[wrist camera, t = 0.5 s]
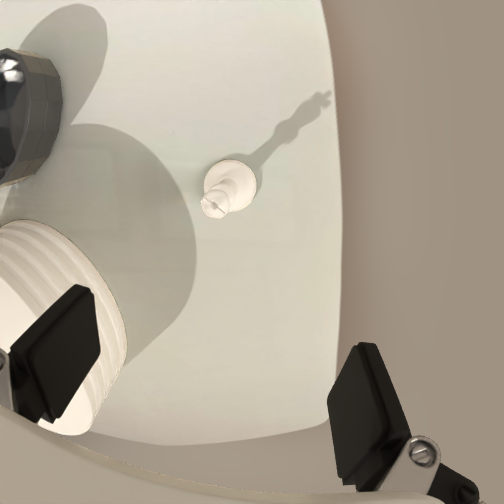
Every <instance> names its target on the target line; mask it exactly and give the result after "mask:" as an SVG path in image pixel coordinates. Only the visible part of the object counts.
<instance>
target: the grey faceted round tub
mask: <svg viewBox="0 0 504 504" xmlns="http://www.w3.org/2000/svg"><path fill="white" fill-rule="evenodd" d="M62 103H63V101H62V93H61V84H60V77H59V75H58V73H57V71H56V70H55V68H54V66H53V64H52V62H51V61H50V60H49V59H47V58H45V57H42V56H40V55H38V54H35V53H30V52H25V51H20V50H15V49H9V48H6V49H3V50H0V188H2V187H5V186H8V185H12V184H15V183H18V182H20V181H22V180H24V179H26V178H28V177H30V176H32V175H34V174H35V173H36V172H37V170H38V169H39V168H40V166H41V165H42V164H43V163H44V161H45V160H46V159H47V157H48V156H49V154H50V151H51V148H52V146H53V143H54V140H55V138H56V136H57V133H58V130H59V124H60V116H61V110H62Z"/></svg>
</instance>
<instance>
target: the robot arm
mask: <svg viewBox="0 0 504 504" xmlns="http://www.w3.org/2000/svg"><path fill="white" fill-rule="evenodd" d="M10 350H11V351H10V352H9V353H8V354H7V353H6V352H5V351H4V350H3V349H1V348H0V504H486V503H485V502H484V501H481V502H480V503H479V491H478V488H477V486H476V485H475V483H473V482H472V481H471V480H469V479H467V478H465V477H464V476H462V475H460V474H459V473H457V472H455V471H453V470H452V469H450V468H448V467H447V466H445V465H443V464H442V463H440V461H441V452H440V449H439V447H438V445H437V444H436V443H435V442H434V441H433V440H431V439H430V438H428V437H425V436H414V437H412V435H411V433H410V429H409V426H408V423H407V421H406V418H405V415H404V412H403V410H402V407H401V404H400V402H399V399H398V397H397V394H396V392H395V389H394V387H393V384H392V382H391V379H390V376H389V374H388V372H387V369H386V367H385V364H384V362H383V360H382V357H381V355H380V353H379V350H378V348H377V346H376V344H374V343H366V342H359V344H358V345H357V346H356V345H355V346H353V348H352V349H351V352H350V354H349V356H348V358H347V360H346V362H345V364H344V366H343V368H342V370H341V372H340V374H339V376H338V378H337V380H336V381H335V383H334V385H333V387H332V389H331V391H330V393H329V395H328V398H327V406H328V412H329V419H330V425H331V431H332V437H333V445H334V451H335V459H336V465H337V474H338V477H339V478H342V481H343V485H356V490H357V491H356V493H338V494H291V493H272V492H259V491H250V490H241V489H234V488H227V487H220V486H214V485H208V484H203V483H198V482H193V481H188V480H184V479H179V478H175V477H171V476H167V475H163V474H160V473H156V472H152V471H149V470H146V469H142V468H139V467H136V466H133V465H129V464H127V463H124V462H121V461H118V460H115V459H112V458H110V457H107V456H104V455H102V454H99V453H97V452H94V451H92V450H89V449H87V448H85V447H82V446H80V445H78V444H76V443H73V442H71V441H69V440H67V439H65V438H63V437H61V436H58V435H56V434H54V433H52V432H50V431H48V430H46V429H44V428H42V427H41V426H39V425H38V422H39V420H40V419H43V420H45V421H47V422H49V423H51V424H53V423H54V422H55V420H56V418H57V419H59V418H61V416H62V415H63V413H64V411H65V410H66V408H67V406H68V405H69V403H70V402H71V400H72V398H73V397H74V395H75V393H76V392H77V390H78V389H79V387H80V385H81V384H82V382H83V381H84V379H85V378H86V376H87V374H88V373H89V371H90V370H91V368H92V367H93V365H94V364H95V362H96V361H97V359H98V358H99V356H100V352H101V347H100V340H99V333H98V325H97V317H96V308H95V298H94V294H93V293H92V292H91V290H90V288H89V287H85V286H82V285H79V284H74V285H73V286H72V287H71V288H70V289H68V290H67V291H66V292H65V293H64V294H63V295H62V296H61V297H60V298H59V299H58V300H57V301H56V302H54V303H53V304H52V305H51V306H50V307H49V308H48V309H47V310H46V311H45V312H44V313H43V314H42V315H41V316H40V317H39V318H38V319H37V320H36V321H35V322H34V323H33V324H32V325H31V326H30V327H29V328H28V329H27V330H26V331H25V332H24V333H23V334H22V335H21V336H20V337H19V338H18V339H17V340H16V341H15V342H14V343H13V344H12V346H11V347H10Z"/></svg>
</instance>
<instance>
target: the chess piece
mask: <svg viewBox="0 0 504 504" xmlns="http://www.w3.org/2000/svg"><path fill="white" fill-rule="evenodd" d="M256 186H257V185H256V179H255V176H254V174H253V172H252V170H251V169H250V168H249V167H248V166H247V165H245V164H244V163H242V162H240V161H237V160H223V161H220V162H218V163H216V164H215V165H213V166H212V167H211V168H210V170H209V171H208V172H207V174H206V177H205V180H204V192H205V195H204V196H203V198H202V201H201V202H200V204H201V205H202V209H203V211H204V212H205V214H207V215H208V216H210V217H212V218H220V219H221V218H222V217H223V216H224V215H226V214H227V213H228V212H234V211H238V210H241V209H243V208H244V207H246V206H247V205H248V204H249V203H250V202H251V201H252V199H253V198H254V196H255V193H256Z"/></svg>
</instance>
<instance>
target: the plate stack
mask: <svg viewBox="0 0 504 504" xmlns="http://www.w3.org/2000/svg"><path fill="white" fill-rule="evenodd" d="M74 284H79V285H82V286H85V287H89V288H90V290H91V292H92V293H93V294H94V298H95V308H96V317H97V325H98V333H99V340H100V347H101V352H100V356H99V358H98V359H97V361H96V362H95V364H94V365H93V367H92V368H91V370H90V371H89V373H88V374H87V376H86V378H85V379H84V381H83V382H82V384H81V385H80V387H79V389H78V390H77V392H76V393H75V395H74V397H73V398H72V400H71V402H70V403H69V405H68V406H67V408H66V410H65V411H64V413H63V415H62V416H61V418H59V419H57V418H56V420H55V422H54V423H53V424H51V423H49V422H47V421H45V420H43V419H40V420H39V422H38V425H39V426H41V427H43V428H45V429H47V430H50V431H53V432H56V433H59V434H64V435H79V434H82V433H84V432H86V431H87V430H88V429H89V428H90V427H91V425H92V423H93V421H94V419H95V416H96V414H97V413H98V411H99V409H100V407H101V405H102V403H103V401H104V400H105V398H106V396H107V394H108V392H109V390H110V388H111V387H112V385H113V383H114V381H115V379H116V377H117V375H118V374H119V372H120V370H121V369H122V367H123V365H124V362H125V358H126V353H127V338H126V331H125V327H124V323H123V320H122V316H121V314H120V311H119V308H118V306H117V304H116V302H115V299H114V297H113V295H112V293H111V292H110V290H109V288H108V286H107V285H106V283H105V281H104V280H103V278H102V277H101V275H100V274H99V272H98V271H97V270H96V268H95V267H94V266H93V264H92V263H91V262H90V261H89V260H88V258H87V257H86V256H85V255H84V254H83V253H82V252H81V251H80V250H79V249H78V248H77V247H76V246H75V245H74V244H73V243H72V242H71V241H69V240H68V239H67V238H66V237H64V236H63V235H62V234H60V233H59V232H57V231H56V230H54V229H52V228H51V227H49V226H47V225H45V224H42V223H39V222H36V221H31V220H17V221H13V222H10V223H8V224H6V225H4V226H2V227H0V348H1V349H3V350H4V351H5V352H6V353H7V354H8V353H9V352H10V351H11V350H10V347H11V346H12V344H13V343H14V342H15V341H16V340H17V339H18V338H19V337H20V336H21V335H22V334H23V333H24V332H25V331H26V330H27V329H28V328H29V327H30V326H31V325H32V324H33V323H34V322H35V321H36V320H37V319H38V318H39V317H40V316H41V315H42V314H43V313H44V312H45V311H46V310H47V309H48V308H49V307H50V306H51V305H52V304H53V303H54V302H56V301H57V300H58V299H59V298H60V297H61V296H62V295H63V294H64V293H65V292H66V291H67V290H68V289H70V288H71V287H72V286H73V285H74Z"/></svg>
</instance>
